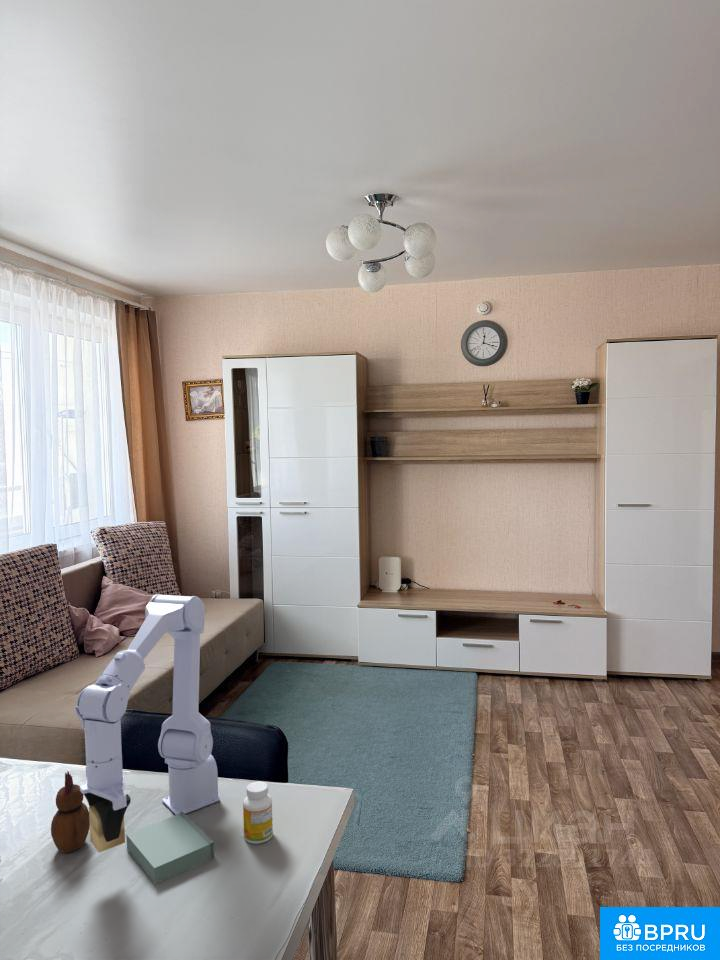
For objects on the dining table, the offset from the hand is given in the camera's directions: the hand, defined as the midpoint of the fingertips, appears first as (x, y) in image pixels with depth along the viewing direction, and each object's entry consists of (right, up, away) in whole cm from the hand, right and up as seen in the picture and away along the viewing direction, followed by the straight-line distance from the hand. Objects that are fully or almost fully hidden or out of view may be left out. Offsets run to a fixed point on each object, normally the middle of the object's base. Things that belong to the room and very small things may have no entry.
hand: (107, 832), depth 116 cm
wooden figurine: (-10, -8, +10) cm, 16 cm away
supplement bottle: (+24, -7, +12) cm, 28 cm away
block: (0, -2, 0) cm, 2 cm away
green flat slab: (+9, -8, +7) cm, 14 cm away
